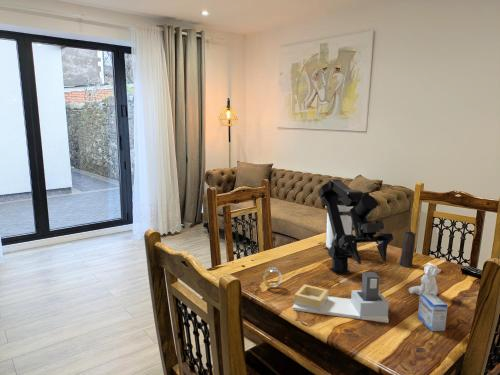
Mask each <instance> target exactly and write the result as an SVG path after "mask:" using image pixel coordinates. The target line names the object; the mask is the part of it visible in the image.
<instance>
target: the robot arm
mask: <svg viewBox="0 0 500 375" xmlns="http://www.w3.org/2000/svg"><path fill="white" fill-rule="evenodd" d="M339 195H340V196H341V197H342V198H343V199H342V202H343V203H344V205H345V206H346V207H352V206H353V208H352V209H350V211H349V213H348V216H351V220H352V223H353V228H352V229H353V232H354V233H355V235H356V238H355V235H354V234H353V233H352V234H351V235H346V234H345V232H344V228H343V224H342V220H341V216H340V213H339V209H338V205H337V202H338V199H339ZM318 197H319V198H320V201H321V203H322V204H323V206H325V208H326V207H327V208H326V212H327V211H328V215H329V219H330V224H331V228H332V232H333V236H334V238H333V240H332V243H331V245H332V246H331V247H330V249H329V248H328V253H327V254H328V256H329V257H330V259H331V260H332V261H331V263H332V264H331V267H329V268H328V270H330V271H331V272H333V273H334V274H336V275H343V274H347V273H351V270H350V269H349V262H348V261H349V259H352V258H353V260H355V261H356V263H357V264H358V265H361V264H362V261H361V256H360V254H359V250H358V244H359V243H360V244H362V243H376V245H377V246H376V248H377V251H378V253H379V255H380V258H381V260H382V261H383V263H386V262H387V249H388V245H389V244H390V243H391V242H393V240H394V239H395V238H394V235H393V233H392V232H389V231H388V232H387V231H385V232H381V230H385V224H384V221H383V220H382V219H381V220H379V219H378V220H376V221H375V222H372V221H371V220H369V218H368V217H369V215H371V214H372V213H373V211H374V210H376V208H377V207H378V200H377V199H376V198H375V197H374V196H372V195H370V193H369V192H363V191H361V190H358V189H354V188H353V189H352V188H351V187H350V186H348V185H347V184H345V183H344V182H343V181H342V179H329V180H328V182H326V183H324V184H323V185H321V186H320V188H319V189H318ZM377 233H379V234H378V235H377V236H375V235H376V234H377Z"/></svg>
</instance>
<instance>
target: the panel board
mask: <svg viewBox="0 0 500 375" xmlns="http://www.w3.org/2000/svg"><path fill="white" fill-rule="evenodd" d="M296 310H297V311H298V312H306V313H312V314H313V313H314V314H319V311H318V310H314V309H311V308H307V307H303V306H300V305H296V304H294V303H293V305H292V311H296ZM320 315H327V316H332V317H333V316H335V317H343V318H350V319H357V320H362V321H363V320H364V321H372V322H373V321H374V322H378V323H387V324H388V323H389V315H388V316H362V318H361V319H360V315H359V314H358V312H357V311H356V309H355V308H354V306H353V305H352V303H351V298H344V297H336V296H329V297H328V301H327V302H326V303H325V305H324V306H323V307H322V308H321V310H320Z"/></svg>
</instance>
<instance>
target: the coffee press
mask: <svg viewBox="0 0 500 375" xmlns="http://www.w3.org/2000/svg"><path fill="white" fill-rule="evenodd" d="M342 199H343V198H342V197H341V196H340V195H339V199H338V202H337V205H338V209H339V213H340V216H341V220H342V224H343V228H344V232H345V234H346V235H351V234H353V232H354V231H353V229H352V228H353V223H352V220H351V216H348V213H349V211H350V209H352V208H353V207H354V206H352V207H346V206H345V205H344V203H343V202H342ZM325 209H327V207H326V206H325ZM325 228H326V230H325V244H323V246H322V248H323V247H327V248H328V250H329V249H330V247H331V246H332V245H331V243H332V240H333V238H334V236H333V232H332V228H331V224H330V219H329V215H328V211H327V210H326V227H325ZM354 236H355V238H356V234H355V235H354Z"/></svg>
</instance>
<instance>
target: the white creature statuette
mask: <svg viewBox="0 0 500 375" xmlns="http://www.w3.org/2000/svg"><path fill="white" fill-rule="evenodd" d="M423 269H424V270H423V272H424V274H423V276H422V277H421V278H420V282H421V284H420V285H415V286H413V285H412V287H411V286H410V287H409V288H408V292H409V293H410V294H412V295H418V296H420V293H433V294H434V295H436V296H437V295H438V292H439V287H438V285H437V278H436V276H438V275H437V274H439V273H441V271H442V269H439V268H438V266H437V265H436V264H433V263H432V262H431V263H430V262H426V264H425V266H424V267H423Z"/></svg>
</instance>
